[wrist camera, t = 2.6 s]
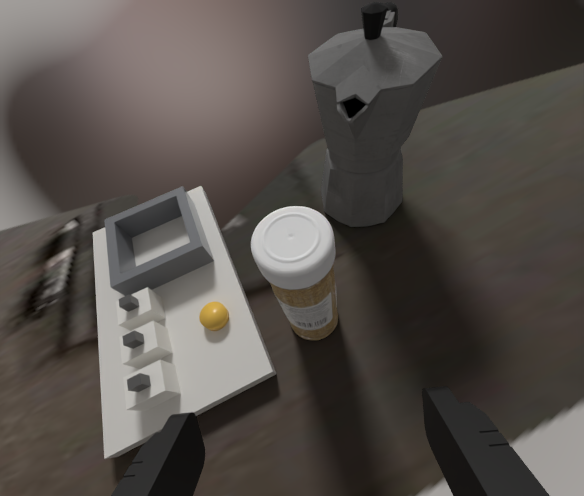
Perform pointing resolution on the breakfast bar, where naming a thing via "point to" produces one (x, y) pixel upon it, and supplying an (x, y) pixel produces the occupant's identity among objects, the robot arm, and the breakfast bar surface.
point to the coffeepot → (369, 111)
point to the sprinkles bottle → (299, 267)
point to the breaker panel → (169, 318)
